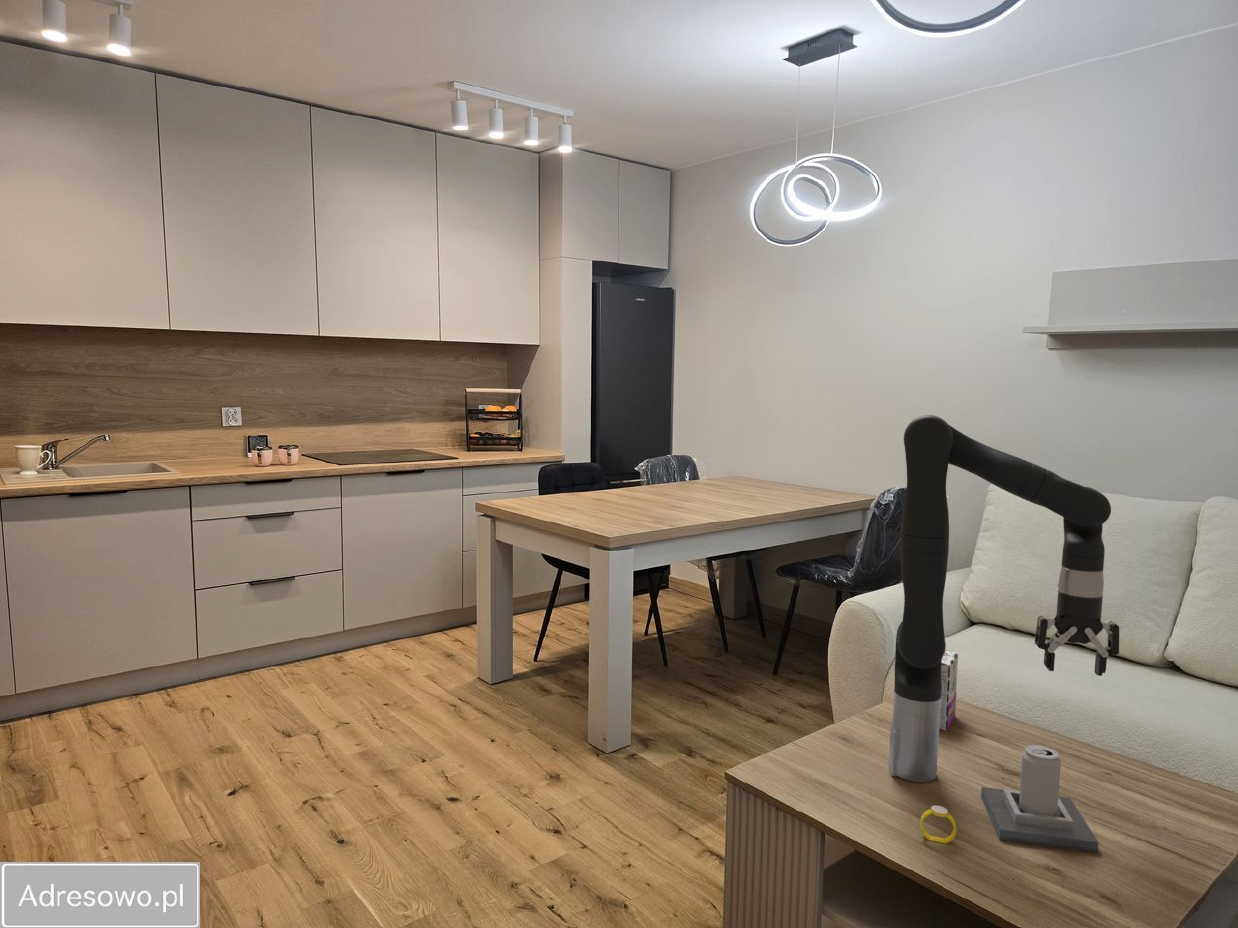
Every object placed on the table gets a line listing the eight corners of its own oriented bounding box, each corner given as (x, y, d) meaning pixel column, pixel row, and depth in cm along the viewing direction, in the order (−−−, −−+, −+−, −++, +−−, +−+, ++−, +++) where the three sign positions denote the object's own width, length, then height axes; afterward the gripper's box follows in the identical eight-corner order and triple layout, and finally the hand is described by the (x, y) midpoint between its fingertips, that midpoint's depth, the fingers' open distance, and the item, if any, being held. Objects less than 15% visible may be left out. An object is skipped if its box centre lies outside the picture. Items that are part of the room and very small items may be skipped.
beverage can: (1061, 823, 147) (1066, 760, 146) (1023, 818, 149) (1028, 756, 148) (1051, 806, 154) (1055, 745, 152) (1014, 801, 155) (1018, 741, 154)
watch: (953, 841, 145) (958, 810, 144) (954, 849, 143) (959, 817, 142) (918, 831, 147) (922, 801, 147) (918, 839, 145) (922, 808, 144)
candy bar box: (934, 711, 203) (938, 648, 202) (955, 716, 201) (959, 652, 199) (925, 726, 194) (928, 660, 192) (947, 732, 191) (951, 664, 190)
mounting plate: (999, 839, 145) (1000, 820, 145) (980, 796, 161) (982, 779, 160) (1097, 853, 142) (1099, 833, 141) (1069, 807, 157) (1070, 789, 157)
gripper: (1045, 592, 154) (1039, 675, 156) (1128, 598, 151) (1122, 682, 152) (1034, 583, 161) (1029, 662, 163) (1114, 589, 158) (1107, 669, 160)
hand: (1074, 672), depth 158 cm, fingers open, 8 cm apart
